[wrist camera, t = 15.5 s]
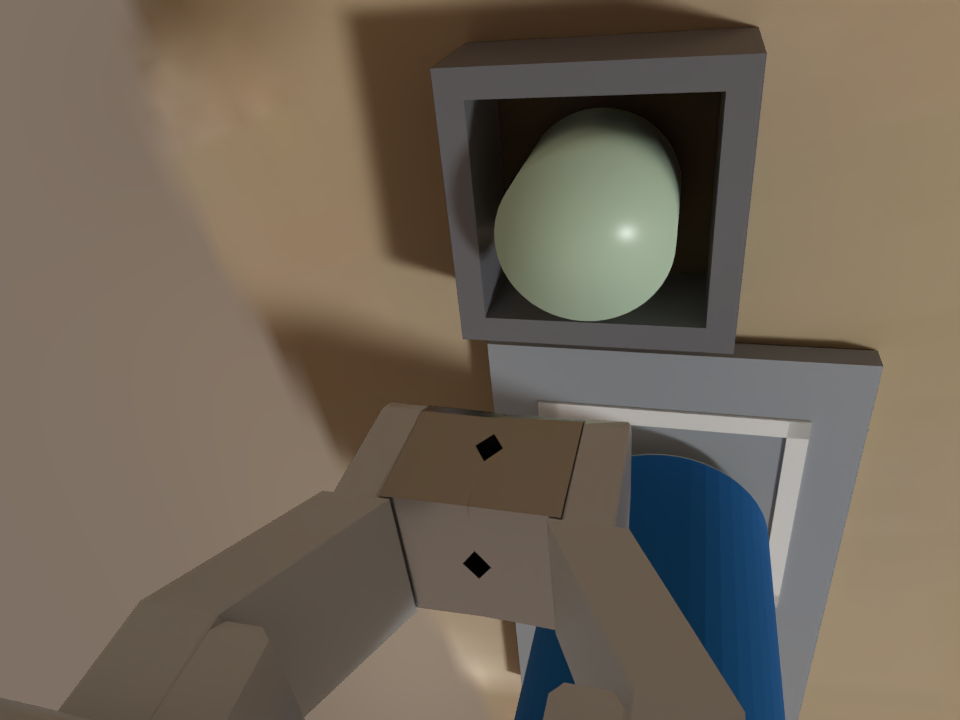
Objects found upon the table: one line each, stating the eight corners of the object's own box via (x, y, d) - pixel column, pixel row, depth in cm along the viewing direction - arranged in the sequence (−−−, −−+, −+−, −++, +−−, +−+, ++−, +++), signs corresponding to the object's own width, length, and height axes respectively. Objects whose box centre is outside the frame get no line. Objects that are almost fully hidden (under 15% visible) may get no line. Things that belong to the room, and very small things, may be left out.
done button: (521, 110, 18) (486, 153, 16) (685, 105, 17) (681, 150, 15) (529, 255, 21) (501, 316, 18) (676, 259, 20) (671, 325, 17)
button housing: (466, 42, 19) (430, 68, 16) (758, 26, 17) (766, 53, 14) (489, 288, 22) (462, 339, 20) (730, 297, 21) (733, 353, 18)
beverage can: (582, 580, 27) (512, 971, 17) (550, 440, 24) (442, 820, 14) (771, 586, 25) (811, 1037, 15) (761, 434, 22) (804, 876, 12)
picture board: (493, 330, 23) (486, 345, 22) (877, 350, 20) (883, 368, 20) (526, 677, 33) (522, 696, 32) (790, 724, 30) (792, 745, 29)
